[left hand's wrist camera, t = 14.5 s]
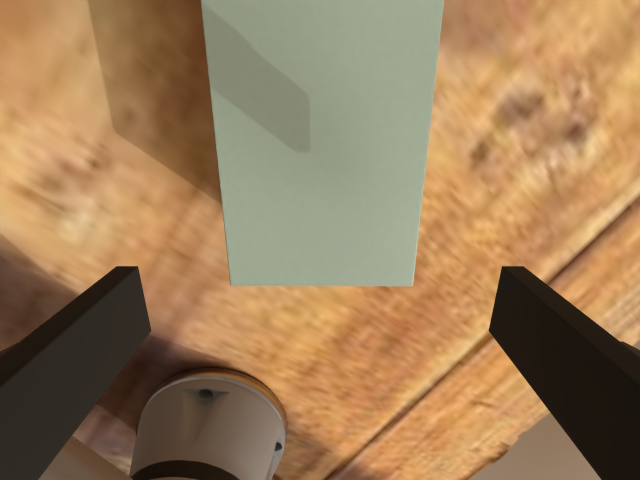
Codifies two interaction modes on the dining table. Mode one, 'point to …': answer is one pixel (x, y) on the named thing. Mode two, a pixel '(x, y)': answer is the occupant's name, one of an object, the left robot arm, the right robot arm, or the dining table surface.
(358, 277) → the pale green rectangular box
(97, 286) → the left robot arm
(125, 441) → the dining table surface
